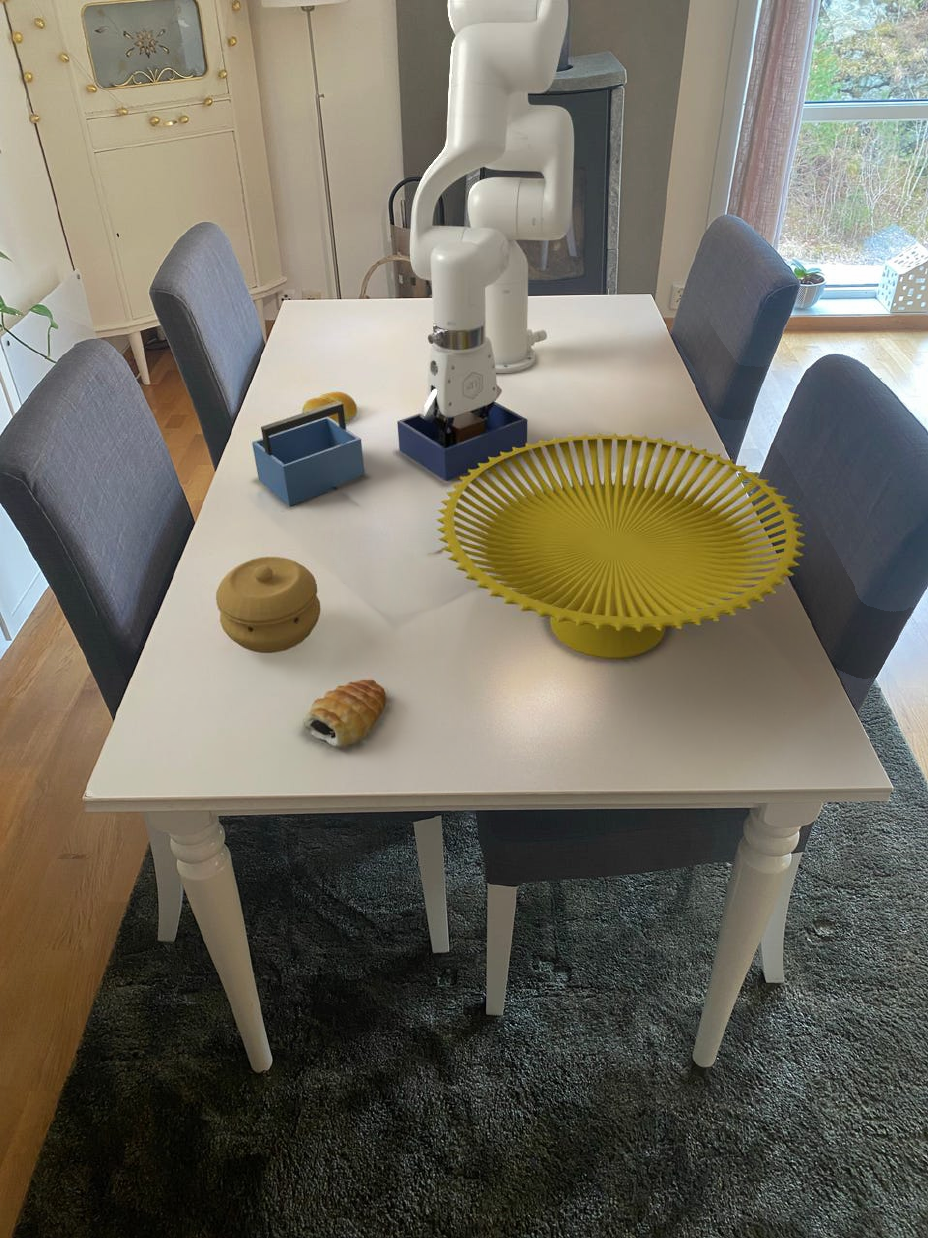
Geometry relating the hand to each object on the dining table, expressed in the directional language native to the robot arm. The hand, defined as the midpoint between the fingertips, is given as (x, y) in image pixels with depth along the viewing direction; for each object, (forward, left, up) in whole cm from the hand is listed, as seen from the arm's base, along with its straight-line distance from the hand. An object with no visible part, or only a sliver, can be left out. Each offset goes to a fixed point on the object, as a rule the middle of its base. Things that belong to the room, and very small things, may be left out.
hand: (462, 445), depth 148 cm
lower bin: (0, 0, -1) cm, 1 cm away
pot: (+45, +22, -2) cm, 50 cm away
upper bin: (+23, -8, -1) cm, 24 cm away
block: (0, 0, 0) cm, 0 cm away
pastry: (+46, +40, -2) cm, 61 cm away
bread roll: (+10, -24, -2) cm, 26 cm away
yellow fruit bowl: (+12, +45, -2) cm, 46 cm away
